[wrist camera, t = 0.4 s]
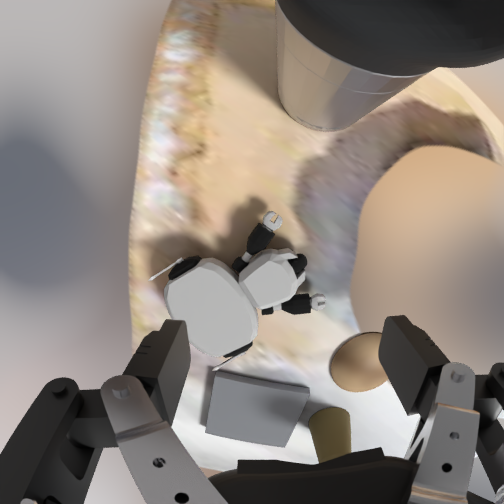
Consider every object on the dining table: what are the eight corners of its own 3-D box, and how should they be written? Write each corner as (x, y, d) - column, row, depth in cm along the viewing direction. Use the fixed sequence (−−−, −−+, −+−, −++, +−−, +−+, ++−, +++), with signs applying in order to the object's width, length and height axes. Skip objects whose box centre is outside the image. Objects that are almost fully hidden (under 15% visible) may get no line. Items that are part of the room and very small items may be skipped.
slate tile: (216, 370, 34) (214, 376, 33) (309, 388, 34) (309, 393, 33) (206, 427, 37) (205, 432, 36) (284, 441, 37) (284, 447, 36)
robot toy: (273, 201, 30) (156, 271, 32) (275, 203, 25) (141, 283, 27) (327, 298, 32) (214, 355, 34) (336, 314, 27) (208, 377, 29)
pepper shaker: (299, 424, 36) (302, 485, 25) (331, 401, 34) (341, 464, 24) (327, 438, 36) (334, 495, 26) (358, 417, 35) (372, 475, 24)
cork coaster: (344, 326, 32) (345, 329, 31) (408, 336, 32) (410, 339, 31) (321, 384, 34) (321, 388, 33) (380, 390, 34) (382, 394, 33)
